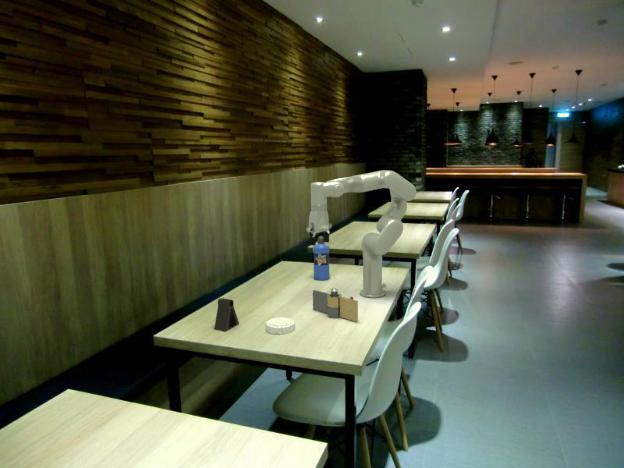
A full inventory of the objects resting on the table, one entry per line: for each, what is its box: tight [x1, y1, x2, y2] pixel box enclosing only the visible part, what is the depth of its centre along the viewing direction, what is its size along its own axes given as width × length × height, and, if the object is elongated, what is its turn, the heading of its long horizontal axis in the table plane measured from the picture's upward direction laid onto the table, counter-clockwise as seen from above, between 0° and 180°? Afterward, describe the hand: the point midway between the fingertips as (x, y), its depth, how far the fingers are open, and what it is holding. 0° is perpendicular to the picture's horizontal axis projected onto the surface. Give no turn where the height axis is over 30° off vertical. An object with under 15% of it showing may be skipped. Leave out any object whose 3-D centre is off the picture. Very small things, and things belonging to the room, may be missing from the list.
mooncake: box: [265, 316, 296, 335], centre depth 179 cm, size 12×12×4 cm
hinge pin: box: [330, 287, 339, 297], centre depth 193 cm, size 3×3×12 cm
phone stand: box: [213, 297, 240, 332], centre depth 182 cm, size 9×6×12 cm, turn 151°
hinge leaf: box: [327, 293, 359, 323], centre depth 190 cm, size 6×16×9 cm, turn 47°
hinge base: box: [312, 289, 341, 319], centre depth 196 cm, size 6×16×9 cm, turn 47°
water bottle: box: [312, 235, 330, 282], centre depth 252 cm, size 9×9×25 cm
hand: (319, 243), depth 210 cm, fingers open, 9 cm apart
